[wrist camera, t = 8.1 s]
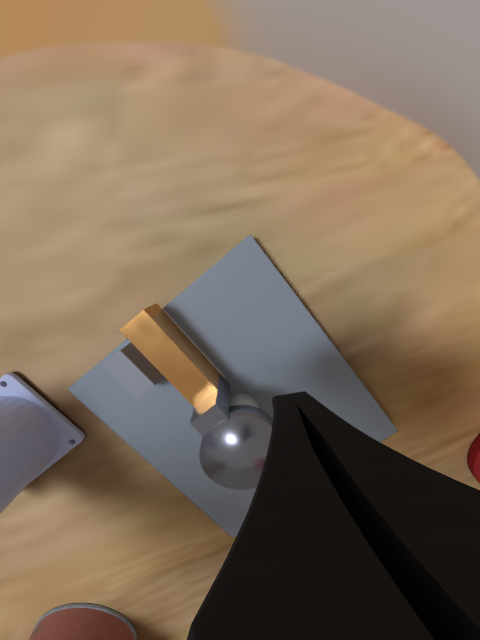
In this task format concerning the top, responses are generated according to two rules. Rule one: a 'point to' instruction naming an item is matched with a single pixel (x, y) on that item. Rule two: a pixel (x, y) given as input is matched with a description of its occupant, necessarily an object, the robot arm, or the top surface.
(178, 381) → the lever handle
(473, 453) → the canned food
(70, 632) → the canned food
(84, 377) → the base
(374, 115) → the top surface
